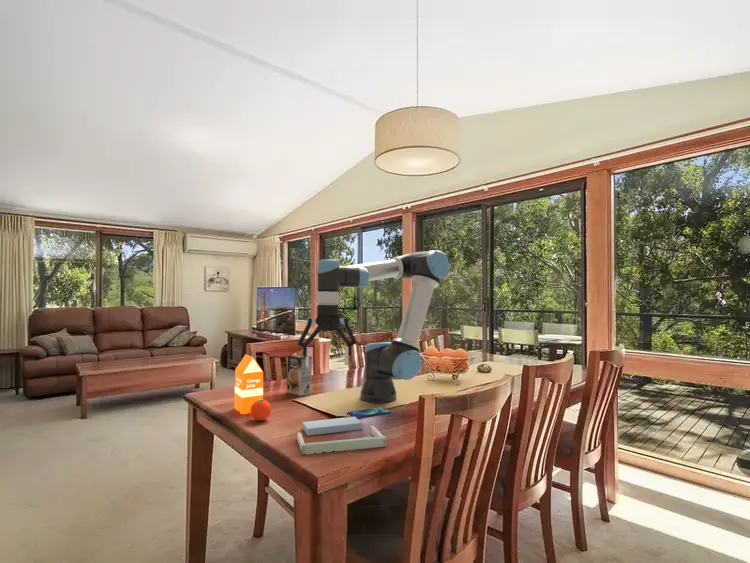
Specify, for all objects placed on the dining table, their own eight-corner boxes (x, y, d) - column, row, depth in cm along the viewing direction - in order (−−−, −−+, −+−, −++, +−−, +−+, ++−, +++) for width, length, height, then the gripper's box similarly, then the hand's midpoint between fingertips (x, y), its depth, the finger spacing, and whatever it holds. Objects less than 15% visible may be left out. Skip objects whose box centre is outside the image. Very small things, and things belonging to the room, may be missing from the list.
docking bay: (373, 432, 131) (374, 424, 131) (386, 446, 120) (386, 437, 120) (297, 439, 124) (297, 431, 124) (302, 454, 113) (302, 445, 113)
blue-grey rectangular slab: (354, 423, 141) (354, 416, 141) (362, 430, 135) (362, 422, 135) (302, 429, 134) (302, 422, 134) (307, 437, 128) (307, 428, 128)
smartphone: (345, 412, 151) (380, 406, 159) (345, 415, 151) (380, 408, 159) (355, 418, 144) (391, 411, 152) (355, 420, 144) (391, 414, 152)
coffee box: (286, 392, 180) (287, 355, 181) (298, 389, 185) (298, 353, 185) (300, 396, 174) (300, 357, 175) (311, 393, 179) (312, 355, 180)
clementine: (249, 417, 145) (249, 396, 145) (269, 415, 147) (269, 395, 147) (250, 424, 137) (251, 402, 137) (272, 422, 140) (272, 401, 140)
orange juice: (254, 405, 159) (255, 353, 160) (262, 411, 152) (264, 356, 153) (233, 408, 155) (234, 355, 155) (241, 414, 148) (242, 358, 148)
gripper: (360, 303, 151) (359, 362, 151) (290, 303, 144) (289, 365, 144) (365, 304, 144) (364, 366, 143) (292, 304, 137) (291, 369, 136)
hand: (327, 365), depth 143 cm, fingers open, 13 cm apart
